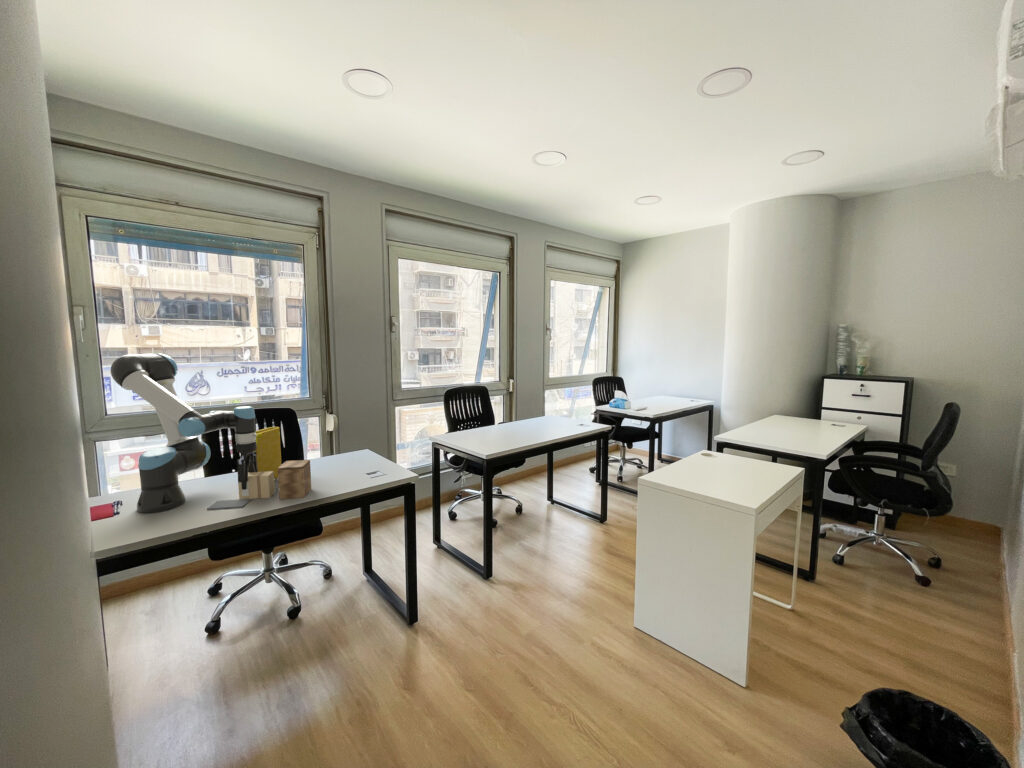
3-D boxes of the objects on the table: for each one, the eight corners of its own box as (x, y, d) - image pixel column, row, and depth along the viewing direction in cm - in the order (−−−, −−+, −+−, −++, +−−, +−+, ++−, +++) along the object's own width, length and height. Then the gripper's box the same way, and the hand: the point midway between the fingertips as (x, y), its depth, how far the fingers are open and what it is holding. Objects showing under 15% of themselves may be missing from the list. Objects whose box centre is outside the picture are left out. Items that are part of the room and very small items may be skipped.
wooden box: (279, 499, 175) (277, 467, 173) (288, 490, 185) (286, 460, 184) (304, 497, 177) (302, 466, 175) (311, 488, 187) (310, 459, 185)
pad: (207, 509, 163) (207, 508, 163) (217, 501, 171) (217, 500, 171) (242, 507, 166) (242, 506, 166) (251, 500, 174) (251, 498, 173)
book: (258, 486, 189) (255, 434, 186) (246, 485, 190) (243, 434, 187) (285, 475, 205) (282, 427, 203) (274, 474, 207) (271, 426, 204)
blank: (239, 499, 174) (237, 476, 173) (245, 494, 180) (244, 472, 179) (269, 497, 176) (268, 475, 175) (274, 492, 182) (273, 470, 181)
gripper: (245, 447, 166) (248, 501, 169) (264, 436, 185) (267, 484, 187) (225, 448, 165) (229, 502, 167) (246, 436, 183) (249, 485, 186)
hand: (249, 492), depth 177 cm, fingers closed on blank, 6 cm apart
